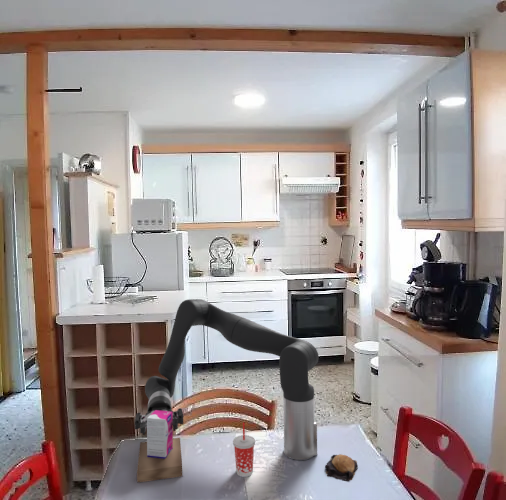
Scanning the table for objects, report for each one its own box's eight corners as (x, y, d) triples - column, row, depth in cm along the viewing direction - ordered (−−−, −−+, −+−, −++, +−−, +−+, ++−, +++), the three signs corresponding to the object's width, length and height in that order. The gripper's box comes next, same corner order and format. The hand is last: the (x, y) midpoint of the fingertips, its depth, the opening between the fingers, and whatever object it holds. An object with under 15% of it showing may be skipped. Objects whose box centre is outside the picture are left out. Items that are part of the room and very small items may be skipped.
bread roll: (330, 458, 123) (330, 445, 123) (359, 463, 120) (359, 451, 120) (322, 477, 113) (321, 464, 113) (353, 484, 110) (353, 470, 110)
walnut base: (180, 446, 130) (180, 437, 130) (182, 476, 114) (182, 465, 114) (140, 451, 127) (140, 442, 127) (137, 482, 112) (136, 471, 112)
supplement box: (166, 459, 117) (165, 419, 117) (146, 457, 119) (145, 418, 118) (173, 448, 123) (172, 410, 123) (155, 447, 124) (154, 409, 124)
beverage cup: (251, 480, 112) (250, 429, 111) (230, 476, 114) (229, 426, 113) (258, 467, 118) (257, 419, 117) (238, 464, 120) (237, 416, 119)
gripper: (136, 397, 133) (133, 419, 117) (181, 393, 136) (184, 414, 120) (137, 420, 134) (133, 445, 118) (182, 415, 137) (184, 439, 121)
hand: (159, 429), depth 119 cm, fingers open, 8 cm apart
